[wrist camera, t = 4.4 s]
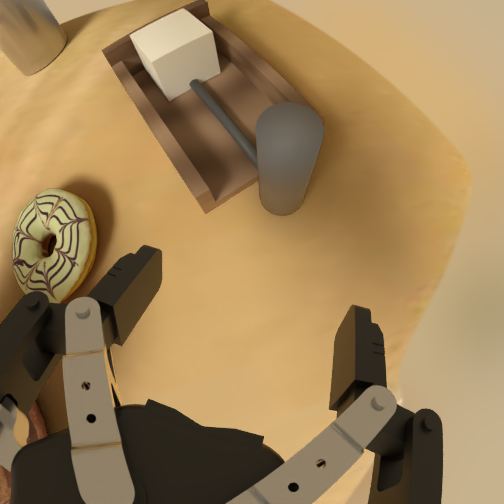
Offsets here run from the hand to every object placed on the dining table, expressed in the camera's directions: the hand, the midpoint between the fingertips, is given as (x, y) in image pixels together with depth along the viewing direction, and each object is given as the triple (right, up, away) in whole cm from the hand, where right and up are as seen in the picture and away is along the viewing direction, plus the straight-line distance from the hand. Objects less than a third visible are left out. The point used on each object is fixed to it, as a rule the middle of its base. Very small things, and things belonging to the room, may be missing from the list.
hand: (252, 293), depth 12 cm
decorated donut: (-19, +2, +14) cm, 24 cm away
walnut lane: (-5, +16, +16) cm, 23 cm away
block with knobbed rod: (-3, +14, +14) cm, 20 cm away
